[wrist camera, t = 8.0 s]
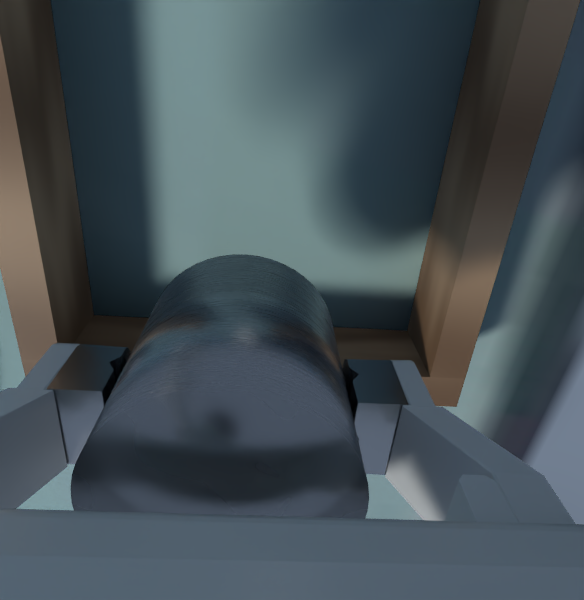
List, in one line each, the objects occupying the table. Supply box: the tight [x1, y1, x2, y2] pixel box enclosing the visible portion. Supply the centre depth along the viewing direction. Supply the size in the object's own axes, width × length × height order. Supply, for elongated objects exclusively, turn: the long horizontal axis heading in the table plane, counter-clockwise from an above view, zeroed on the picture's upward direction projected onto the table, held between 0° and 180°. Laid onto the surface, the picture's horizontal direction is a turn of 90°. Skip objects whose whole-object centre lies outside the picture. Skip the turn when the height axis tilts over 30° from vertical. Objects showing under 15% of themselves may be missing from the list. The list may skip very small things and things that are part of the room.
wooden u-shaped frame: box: [0, 0, 580, 407], centre depth 13 cm, size 17×14×3 cm
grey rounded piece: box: [71, 255, 369, 519], centre depth 9 cm, size 5×5×5 cm
